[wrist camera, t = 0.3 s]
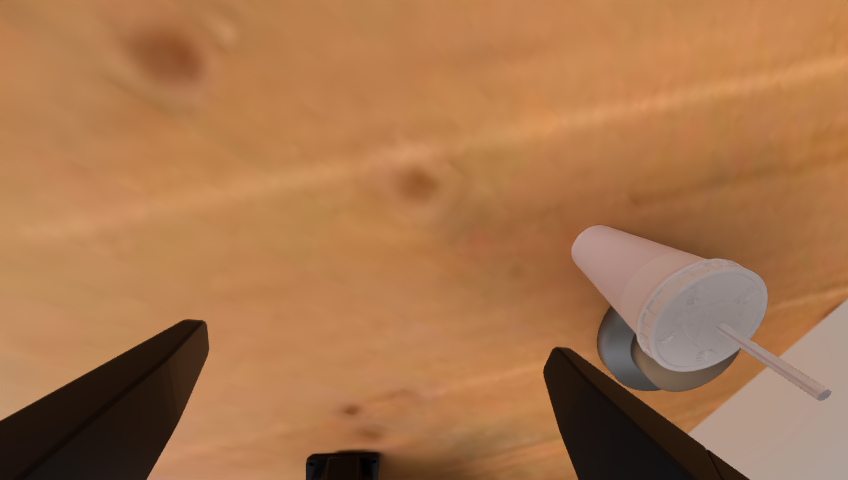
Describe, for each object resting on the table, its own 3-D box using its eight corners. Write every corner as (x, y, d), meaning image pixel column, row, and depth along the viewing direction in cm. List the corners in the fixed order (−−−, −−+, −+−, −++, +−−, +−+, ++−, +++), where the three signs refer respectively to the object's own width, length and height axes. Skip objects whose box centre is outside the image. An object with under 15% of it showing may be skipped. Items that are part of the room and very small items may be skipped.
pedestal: (690, 378, 33) (725, 408, 29) (580, 378, 31) (603, 410, 27) (749, 269, 28) (796, 290, 25) (624, 261, 26) (658, 283, 23)
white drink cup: (608, 291, 27) (814, 458, 14) (540, 274, 26) (702, 444, 13) (648, 219, 25) (932, 340, 12) (577, 197, 24) (814, 307, 11)
